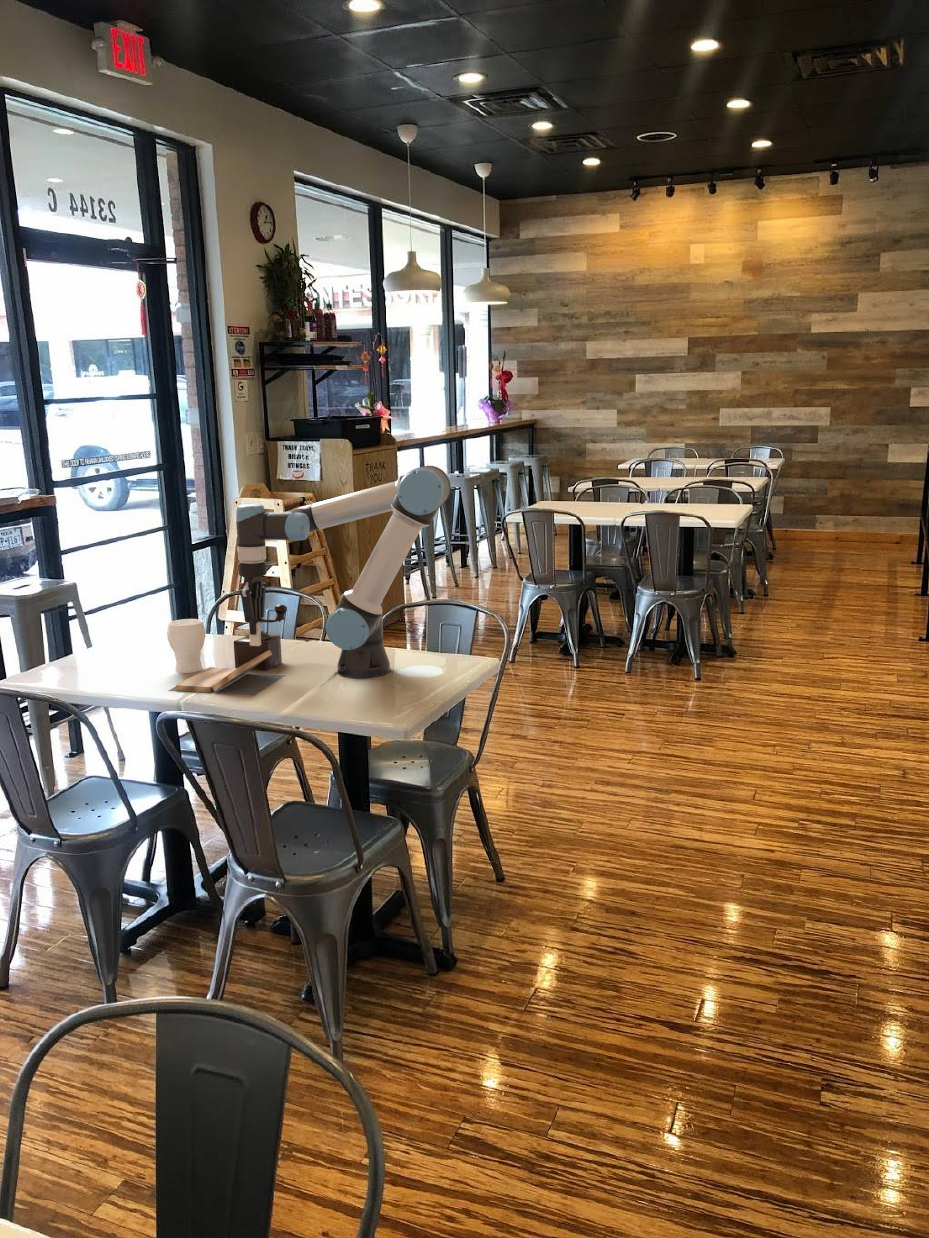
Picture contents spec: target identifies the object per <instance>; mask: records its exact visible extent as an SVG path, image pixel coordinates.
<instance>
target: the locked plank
mask: <svg viewBox="0 0 929 1238" xmlns="http://www.w3.org/2000/svg"><path fill="white" fill-rule="evenodd" d="M236 669H237V668H235V667H234V668H233V667H217V666H216V667H215V666H209V667H208V668H206V669H204V670H201V671H200V672H198V673H196V674H194V675H192V676H191V677H188V678H187V679H185V680H183V681H181V682H180V683H178V684H176V685H175V687H176V691H175V692H179V691H193V692H192V693H198V692H212V691H214V689H213V688H212V686H213V685H215V684H216V683H217V682H219V681H220V680H222V679H223V678H224V677H226V676H227V675H229V674H230V673H231V672H233V671H234V670H236Z"/></svg>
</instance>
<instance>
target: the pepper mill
mask: <svg viewBox="0 0 929 1238" xmlns="http://www.w3.org/2000/svg"><path fill="white" fill-rule="evenodd" d="M274 612H275V613H276V615H275V616H276V617H275V619H264V621H260V624H261V623H276V622H277V623H278V622H279V623H281V621H285V615H286V614H287V612H288V606H286V605H285V604H280V603H279V604H277V605H275V606H274ZM281 641H282V639H281V635H276V634H269V632H268V631H263V630H262V631H261V645H260V646H250V635H249V633H248V634H247V635H245V636H243V637H240V638H238V639H235V640H233V655H234V656H233V657H234V668H238V667H240V666H242V665H243V664H245V663H247V662H249V661H250V660H252V659H254V658H256V657H258V656H259V655H261V654H263V653H265V652H266V651H268V650H270V651H271V653H272V655H271V656H269V657H268V658H266V659H265V660H264V661H262V662H261V663H259V664H258V665H257V666H255V667H254V668H252V669H251V670H250V671H259V672H267V671H269V670H271V669H276V668H277V667H278V666H279V665H281V664H282V663H283V661H282V643H281Z"/></svg>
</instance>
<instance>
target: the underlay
mask: <svg viewBox="0 0 929 1238" xmlns="http://www.w3.org/2000/svg"><path fill="white" fill-rule="evenodd" d="M285 676H286V674H266V673H265V674H264V673H248V672H247V673H245V674H243V675H242V676H240V677H238V678H237V679H235V680H233V681H232V682H230V683H228V684H226V685H225V686H223V687H221V688H220V689H218V690H216V691H212V692H197V693H203V694H217V695H218V694H222V695H223V694H224V695H236V696H237V695H241V696H242V695H243V696H256V695H258V693H260V692H262V691H264V690H265V689H266V688H268V687H270V686H271V685H273V684H274V683H276V682H278V681H279V680H280V679H282V678H284V677H285ZM167 691H168V692H177V691H176V686H174V687H172V688H170V689H168V690H167ZM178 692H181V693H194V692H193V691H178Z"/></svg>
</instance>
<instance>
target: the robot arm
mask: <svg viewBox="0 0 929 1238" xmlns="http://www.w3.org/2000/svg"><path fill="white" fill-rule="evenodd" d="M450 493H451V482H450V479H449V476H448V475H447V473H446V472H445V471H444V470H443V469H441V468H440V467H438V466H435V465H424V466H421V467H415V468H414V469H411V470H409V471H408V472H407V473H406V474H403V475H400V476H398V479H397V480H396V481H391V482H388V483H384V484H381V485H376V486H374V487H370V488H366V489H361V490H358V491H355V492H351V493H347V494H343V495H339V496H336V497H332V498H328V499H325V500H322V501H321V500H320V501H318V502H314V503H311V504H306V505H301V506H297V507H294V508H293V509H290V510H288V511H284V512H280V511H279V512H275V511H274V512H271V511H270V512H268V511H266V510H265V506H264V505H263V504H257V503H249V504H248V503H245V504H239V505H238V506H237V507H236V513H235V514H236V515H235V516H236V517H235V518H236V519H235V520H236V521H235V523H236V524H235V526H236V538H237V548H236V552H237V560H238V561H239V562H238V563H237V564H238V565H237V566H238V575H239V576H240V577H243V583H242V584H243V589H239V591H238V592H239V595H240V598H241V604H242V605H241V606H242V609H243V610H242V611H243V617H244V622H245V623H247V624H248V628H249V630H248V634H249V635H250V646H260V645H261V630H262V629H261V627H262V626H261V623H260V621H264V620H265V619H264V617H265V606H266V605H265V603H266V602H265V601H266V590H267V586H268V585H267V582H263V577H264V576H266V575H267V573H268V572H267V562H266V560H267V548H266V541H273V540H274V541H292V542H296V541H297V542H298V541H305V540H307V539H308V536H309V535H310V533H313V532H316V531H320V530H323V529H328V528H331V527H334V526H339V525H342V524H345V523H349V522H354V521H358V520H362V519H365V518H368V517H372V516H377V515H380V514H383V513H389V512H392V514H391V516H390V518H389V520H388V522H387V524H386V526H385V528H384V530H383V532H382V533H381V534H380V537H379V539H378V540H377V542H376V544H375V546H374V548H373V550H372V551H371V554H370V555H369V557H368V560H367V561H366V563H365V565H364V567H363V569H362V571H361V573H360V575H359V576H358V578H357V580H356V582H355V584H354V586H353V588H352V589H349V590H346V591H344V593H342V594H341V595H340V596H341V597H340V600H339V602H338V604H337V606H336V607H335V609H334V611H332V612H331V613H330V615H328V618H327V620H326V623H325V631H326V636H327V638H328V639H329V641H330V642H331V643H332V645H334V646H335V647H337V648H339V649H340V650H341V651H340V655H339V658H338V662H337V667H336V668H337V673H338V674H339V675H340V676H343V677H348V678H373V677H378V676H383V675H387V674H388V673H389V672H390V671H391V663H390V662H391V661H390V659H389V657H388V654H387V652H386V649H385V646H384V626H383V623H384V621H383V605H384V603H383V600H384V598H385V596H386V595H387V593H388V591H389V589H390V587H391V585H392V583H393V581H394V580H395V579H396V577H397V575H398V573H399V571H400V569H401V567H402V565H403V564H404V562H405V560H406V559H407V556H408V555H409V553H410V550H411V549H412V546H413V545H414V543H415V541H416V539H417V538H418V535H419V534H420V532H421V531H422V529H423V528H427V527H429V526H430V525H431V523H432V522H433V520H434V518H435V516H436V514H437V513H438V511H439V509H440V507H441V505H443V504H444V503H445V502H446V501H447V500H448V498H449V497H450Z"/></svg>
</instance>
